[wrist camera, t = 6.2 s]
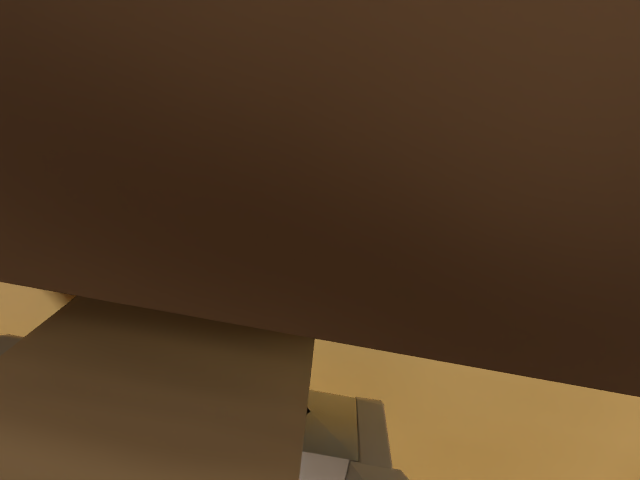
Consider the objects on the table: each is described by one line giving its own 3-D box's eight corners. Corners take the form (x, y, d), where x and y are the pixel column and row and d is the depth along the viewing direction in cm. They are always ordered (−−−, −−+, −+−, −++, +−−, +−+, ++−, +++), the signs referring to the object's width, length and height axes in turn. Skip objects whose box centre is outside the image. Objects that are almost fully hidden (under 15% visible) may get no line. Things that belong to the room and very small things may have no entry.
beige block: (143, 244, 10) (-184, 500, 4) (321, 277, 10) (286, 582, 4) (135, 393, 11) (-118, 766, 5) (293, 421, 11) (234, 824, 5)
